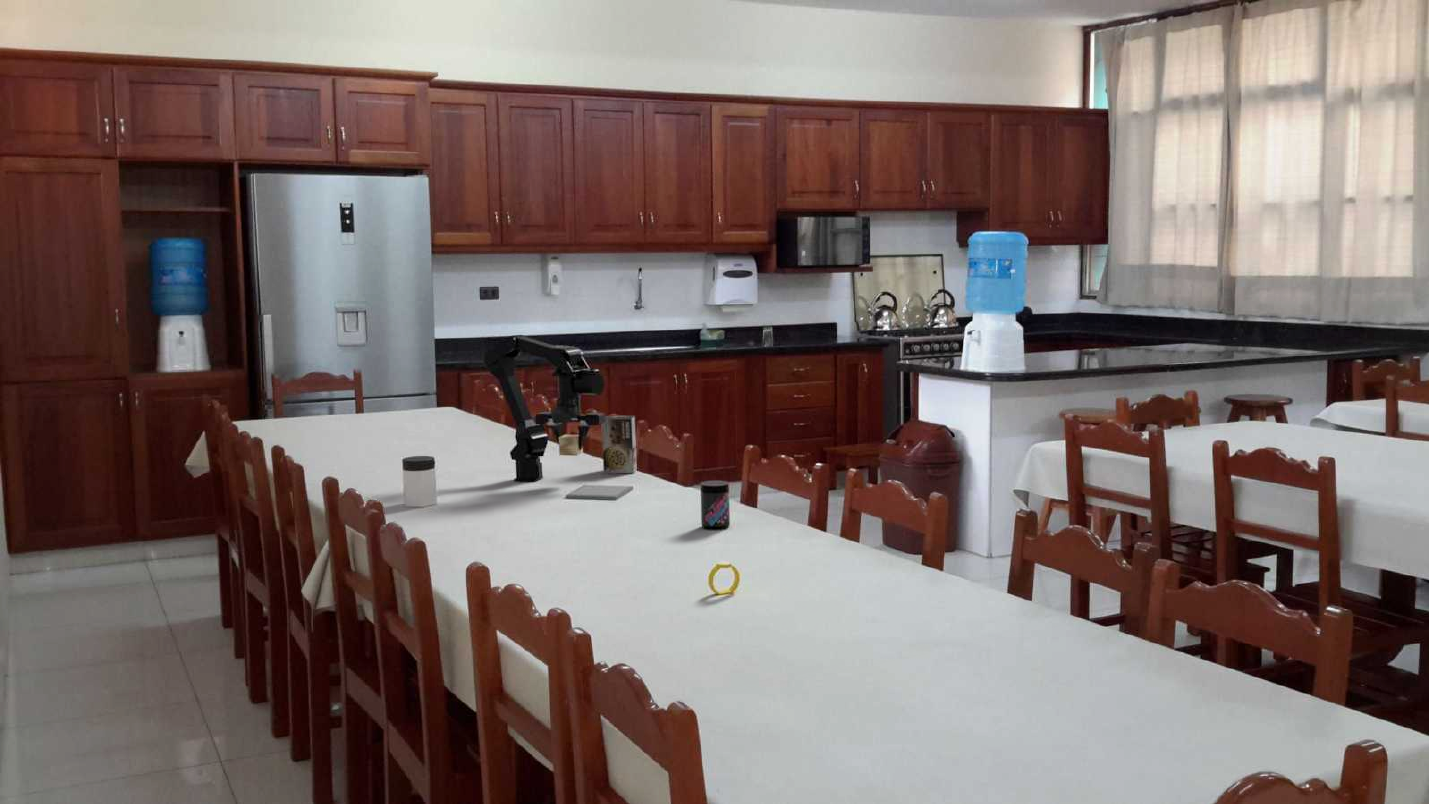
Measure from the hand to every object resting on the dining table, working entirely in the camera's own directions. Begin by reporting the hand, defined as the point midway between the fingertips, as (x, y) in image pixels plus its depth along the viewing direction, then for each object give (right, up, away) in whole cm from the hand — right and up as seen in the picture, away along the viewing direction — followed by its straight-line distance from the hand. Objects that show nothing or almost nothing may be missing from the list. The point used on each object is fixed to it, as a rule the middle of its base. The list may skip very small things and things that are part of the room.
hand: (571, 449), depth 344 cm
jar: (-37, -14, -21) cm, 44 cm away
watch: (+41, -23, -108) cm, 118 cm away
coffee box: (+12, -7, +20) cm, 24 cm away
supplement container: (+40, -16, -54) cm, 69 cm away
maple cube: (0, -1, 0) cm, 1 cm away
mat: (+9, -11, -12) cm, 19 cm away
